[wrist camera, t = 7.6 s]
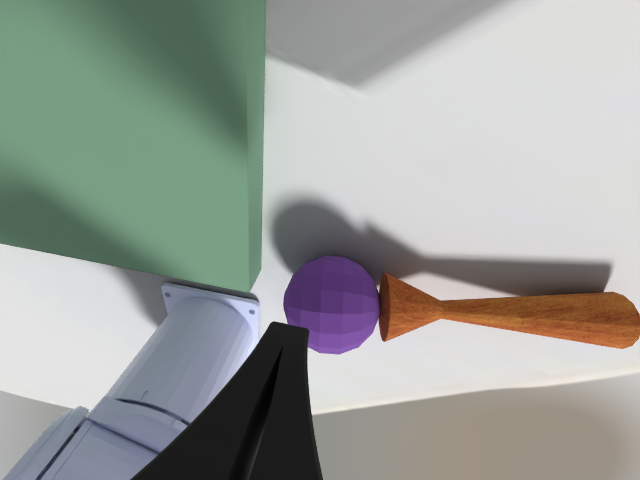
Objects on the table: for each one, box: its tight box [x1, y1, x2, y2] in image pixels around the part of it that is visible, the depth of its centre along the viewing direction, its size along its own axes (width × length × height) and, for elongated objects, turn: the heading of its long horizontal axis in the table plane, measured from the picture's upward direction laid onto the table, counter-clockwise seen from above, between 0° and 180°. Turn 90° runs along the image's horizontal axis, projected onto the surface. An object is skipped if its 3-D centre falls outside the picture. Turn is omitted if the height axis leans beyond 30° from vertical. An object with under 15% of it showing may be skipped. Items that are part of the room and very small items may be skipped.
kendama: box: [283, 256, 640, 354], centre depth 18 cm, size 6×6×20 cm
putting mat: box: [0, 0, 266, 293], centre depth 17 cm, size 16×24×2 cm, turn 83°
